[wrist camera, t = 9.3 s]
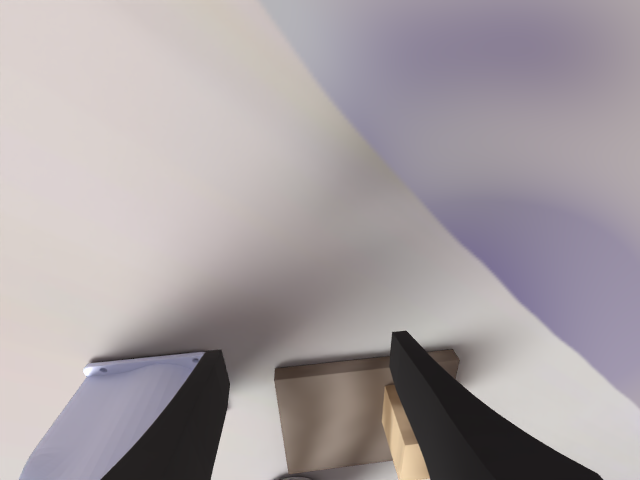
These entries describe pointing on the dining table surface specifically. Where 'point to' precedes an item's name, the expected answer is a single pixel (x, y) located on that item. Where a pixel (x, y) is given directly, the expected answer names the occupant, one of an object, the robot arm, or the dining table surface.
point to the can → (296, 478)
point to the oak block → (402, 439)
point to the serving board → (338, 411)
